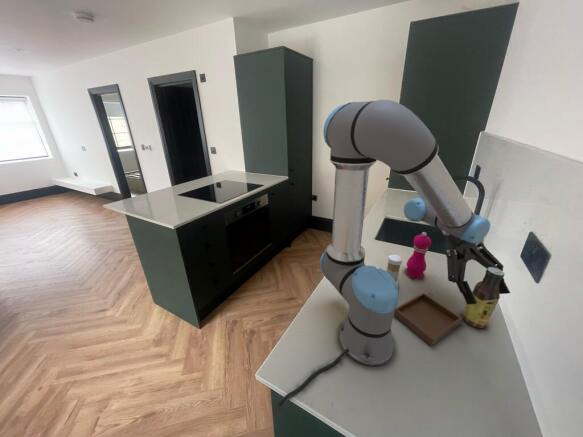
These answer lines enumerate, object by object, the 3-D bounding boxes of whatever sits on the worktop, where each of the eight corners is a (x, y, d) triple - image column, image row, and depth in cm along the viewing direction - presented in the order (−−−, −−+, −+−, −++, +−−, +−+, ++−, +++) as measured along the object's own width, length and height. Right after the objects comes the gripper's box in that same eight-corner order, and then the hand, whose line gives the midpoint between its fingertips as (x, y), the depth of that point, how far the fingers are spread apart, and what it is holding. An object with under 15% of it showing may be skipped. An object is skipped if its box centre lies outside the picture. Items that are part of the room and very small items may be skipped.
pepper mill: (426, 280, 93) (438, 237, 85) (407, 278, 94) (417, 235, 86) (420, 269, 100) (431, 228, 91) (402, 268, 101) (412, 227, 93)
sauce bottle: (479, 332, 71) (502, 281, 63) (458, 318, 76) (477, 268, 68) (490, 324, 74) (514, 273, 65) (469, 310, 79) (488, 262, 71)
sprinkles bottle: (390, 281, 93) (395, 253, 88) (398, 288, 89) (405, 259, 84) (380, 283, 92) (386, 255, 86) (389, 291, 88) (395, 262, 82)
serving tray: (431, 346, 67) (433, 339, 66) (393, 314, 78) (394, 308, 76) (460, 324, 74) (462, 318, 72) (421, 298, 84) (423, 292, 83)
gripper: (435, 235, 70) (469, 308, 63) (495, 223, 76) (531, 288, 69) (418, 242, 77) (446, 308, 70) (474, 230, 83) (505, 290, 76)
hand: (489, 298), depth 69 cm, fingers open, 13 cm apart
